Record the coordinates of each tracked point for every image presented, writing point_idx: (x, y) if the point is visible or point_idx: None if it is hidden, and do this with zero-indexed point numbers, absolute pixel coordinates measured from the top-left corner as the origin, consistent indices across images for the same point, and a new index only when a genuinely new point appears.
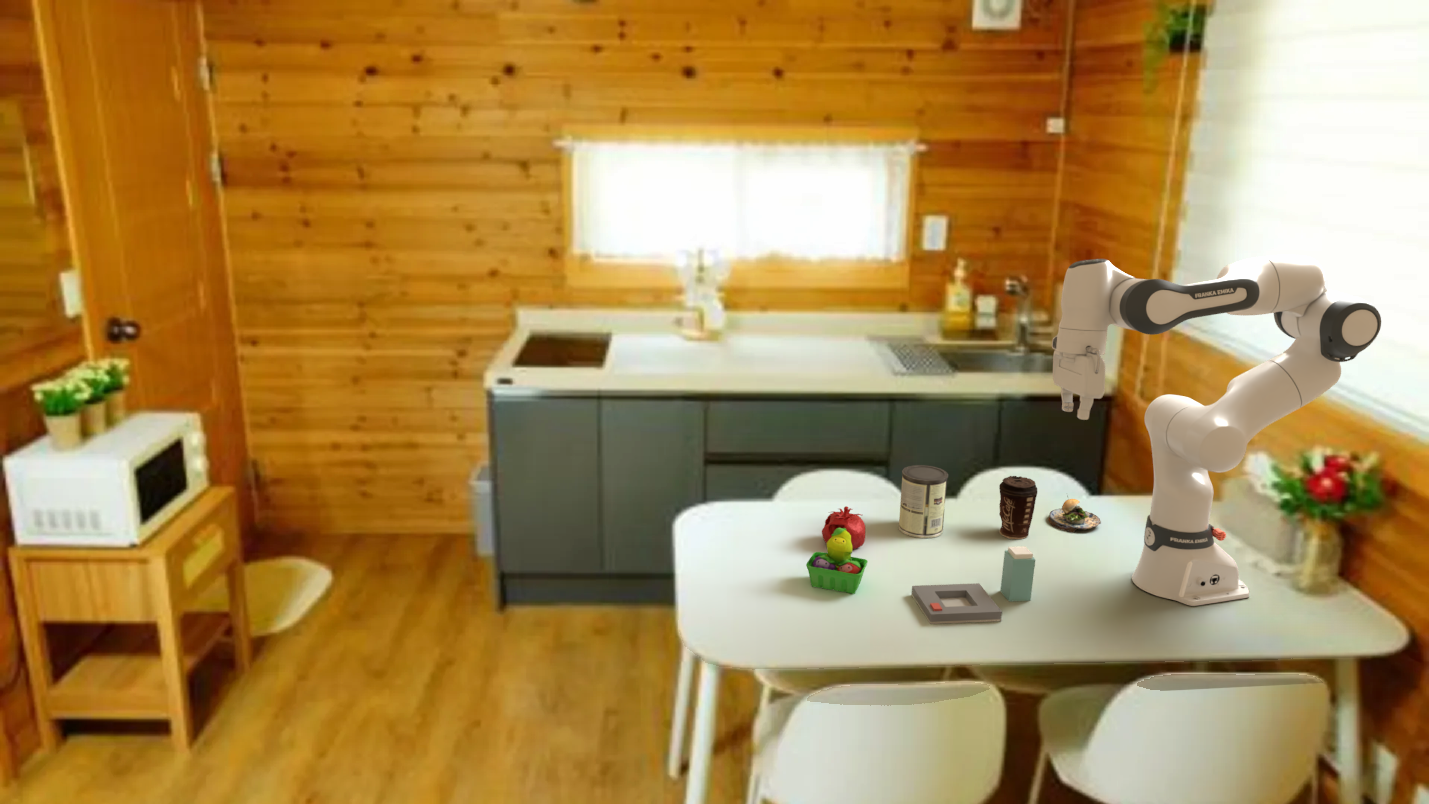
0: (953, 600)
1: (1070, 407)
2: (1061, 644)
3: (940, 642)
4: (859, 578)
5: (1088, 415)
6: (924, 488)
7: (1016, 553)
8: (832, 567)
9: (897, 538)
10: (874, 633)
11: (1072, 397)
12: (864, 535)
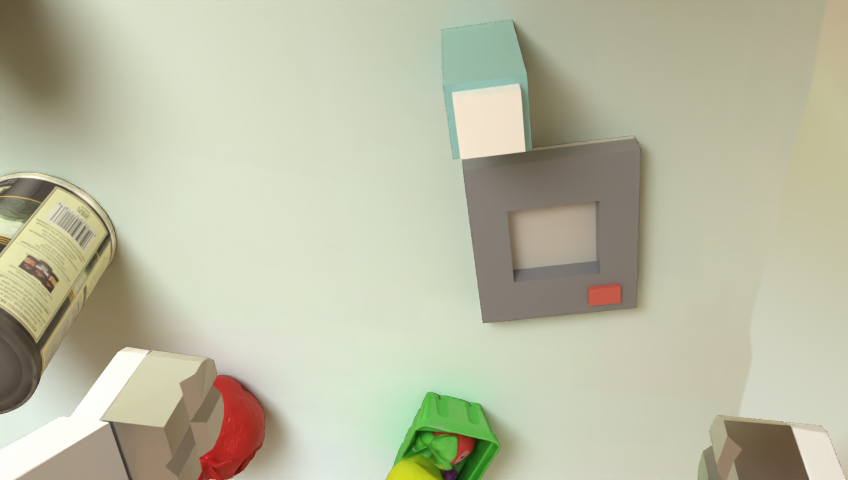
0: (522, 229)
1: (189, 406)
2: (790, 2)
3: (718, 285)
4: (485, 429)
5: (833, 462)
6: (47, 347)
7: (518, 146)
8: (451, 475)
9: (138, 292)
10: (658, 388)
11: (40, 466)
12: (231, 398)
